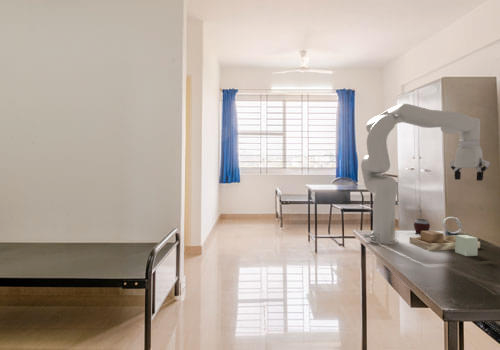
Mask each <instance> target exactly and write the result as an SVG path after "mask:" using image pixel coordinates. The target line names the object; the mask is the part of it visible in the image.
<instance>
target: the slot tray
mask: <svg viewBox="0 0 500 350" xmlns="http://www.w3.org/2000/svg"><path fill="white" fill-rule="evenodd" d="M455 237H456V236H446V235H444V240H443V243H434V244H429V243H426V242H423V241H421V236H410V237H409V244H412V245H414V246H417V247H420V248H422V249H424V250H427V251H442V250H455ZM480 248H481V241H478V249H480Z"/></svg>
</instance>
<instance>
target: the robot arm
mask: <svg viewBox="0 0 500 350" xmlns="http://www.w3.org/2000/svg"><path fill="white" fill-rule="evenodd" d="M402 123H404V124H409V125H412V126H416V127H420V128H431V129H432V128H440V131H441V132H442V133H443V134H446V135H458V134H459V142H457V143H456V144H457V146H459V147H457V149H456V152H455V157H454V160H453V161H451V162H449V166H450V168H451V169H452V170H453V172H454V180H457V181H458V180H461V170H462V169H466V168H468V169H475V170H477V172H476V181H477V182H478V181H481V182H482V181H483V179H484V173H485V171H486V170H488V169H489V166H490V165H491V162H490V161H488V160H485V159H484V158H483V150H482V147H481V146H480V137H481V120H480V118H478V117H471V116H470V115H467V114H464V113H460V112H457V111H450V110H449V111H448V110H437V109H429V108H425V107H422V106H417V105H413V104H411V103H410V104H409V103H400V104H397V105H395V106H392V107H391V108H389V109H387V110H385V111H383V112H382V113H380V114H378V115H376V116H373V118H371V119H369V120H368V122H367V123H366V127H365V128H366V129H365V130H366V131H367V133H368V134H367V137H366V150H367V155H365V156H364V157H362V160H361V163H360V167H361V172H362V176H363V177H362V179H363V183H364V187H365V189H366V191H368V192H369V193H370V194H373V195H374V198H373V202H372V203H373V204H372V231H370V232H369V233H363V234H362V237H363V238H364V239H367V238H368V240H369V242H371V243H373V244H376V245H377V244H378V245H383V246H384V244H387V245H388V244H390V245H391V244H398V243H399V240H398V239H397V238H395V237H396V236H395V235H396V232H395V231H396V201H397V195H398V190H399V184H398V182H397V180H396V179H395V178H393V177H392V176H389V175H383V173H384V174H385V173H386V172H388V171H389V170H390V168H391V159H390V156H389V151H388V145H387V139H388V136H389V134H390V133H391V131H393V130H394V128H395V126H396V125H397V124H402ZM483 164H484V165H483Z"/></svg>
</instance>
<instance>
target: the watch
mask: <svg viewBox="0 0 500 350" xmlns="http://www.w3.org/2000/svg"><path fill="white" fill-rule="evenodd" d="M449 219H453V220H454V223H455V224H456V225H457V227H459V229H458V230H456V231H450V230H449V229H448V228H447V225H446V221H448V220H449ZM442 226H443V228H444V230H445V236H456V235H460V234H459V233H460V232H462V230H463V227H464V226H463V224H462V222H461V220H460V219H459V218H458V217H455V216H447V217H445V218H444V219H443V221H442Z"/></svg>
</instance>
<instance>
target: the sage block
mask: <svg viewBox="0 0 500 350" xmlns="http://www.w3.org/2000/svg"><path fill="white" fill-rule="evenodd" d="M478 240H479V238H478V237H476V236H472V235H467V234H459V235H456V237H455V249H454V252H455V253H456V254H459V255H461V256H465V257H474V256H478V250H479V248H478V242H479V241H478Z"/></svg>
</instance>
